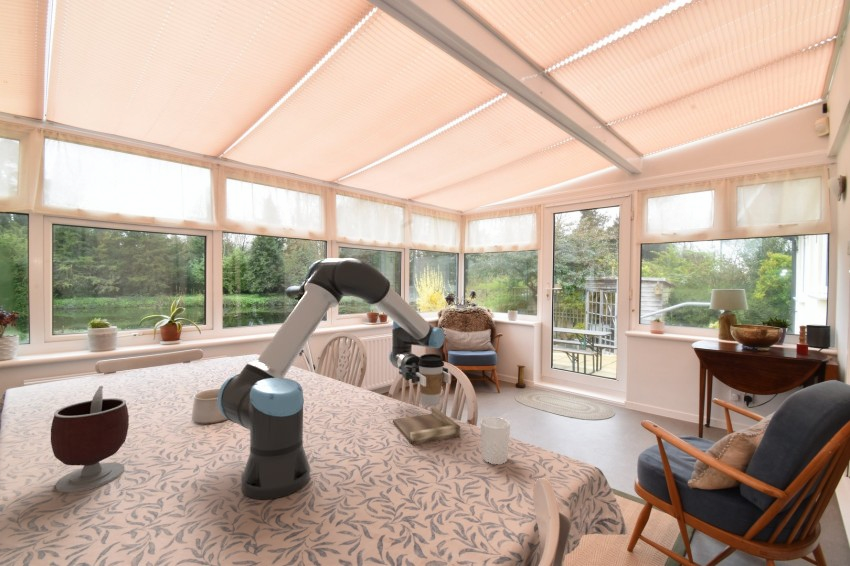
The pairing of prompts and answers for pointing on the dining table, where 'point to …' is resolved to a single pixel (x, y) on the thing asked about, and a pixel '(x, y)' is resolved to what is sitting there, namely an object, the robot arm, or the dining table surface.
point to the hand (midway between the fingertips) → (437, 380)
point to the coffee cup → (431, 378)
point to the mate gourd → (89, 441)
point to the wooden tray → (427, 427)
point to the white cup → (495, 439)
